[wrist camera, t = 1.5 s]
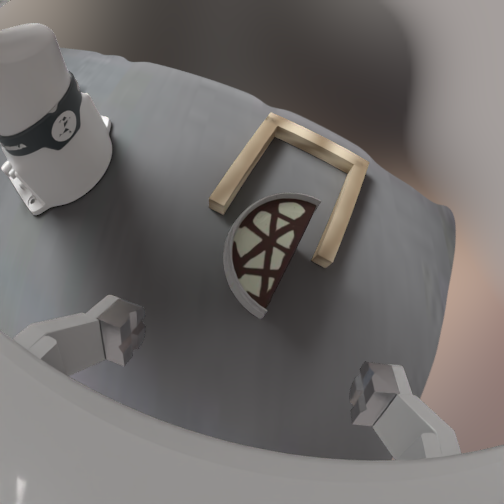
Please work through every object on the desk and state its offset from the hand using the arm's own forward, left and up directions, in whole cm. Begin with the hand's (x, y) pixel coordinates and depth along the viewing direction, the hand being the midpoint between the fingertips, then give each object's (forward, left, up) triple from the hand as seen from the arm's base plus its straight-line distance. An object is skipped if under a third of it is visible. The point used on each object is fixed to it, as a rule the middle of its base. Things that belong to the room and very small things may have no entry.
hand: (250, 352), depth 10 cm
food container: (-2, +9, -22) cm, 24 cm away
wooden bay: (-2, +21, -22) cm, 31 cm away
